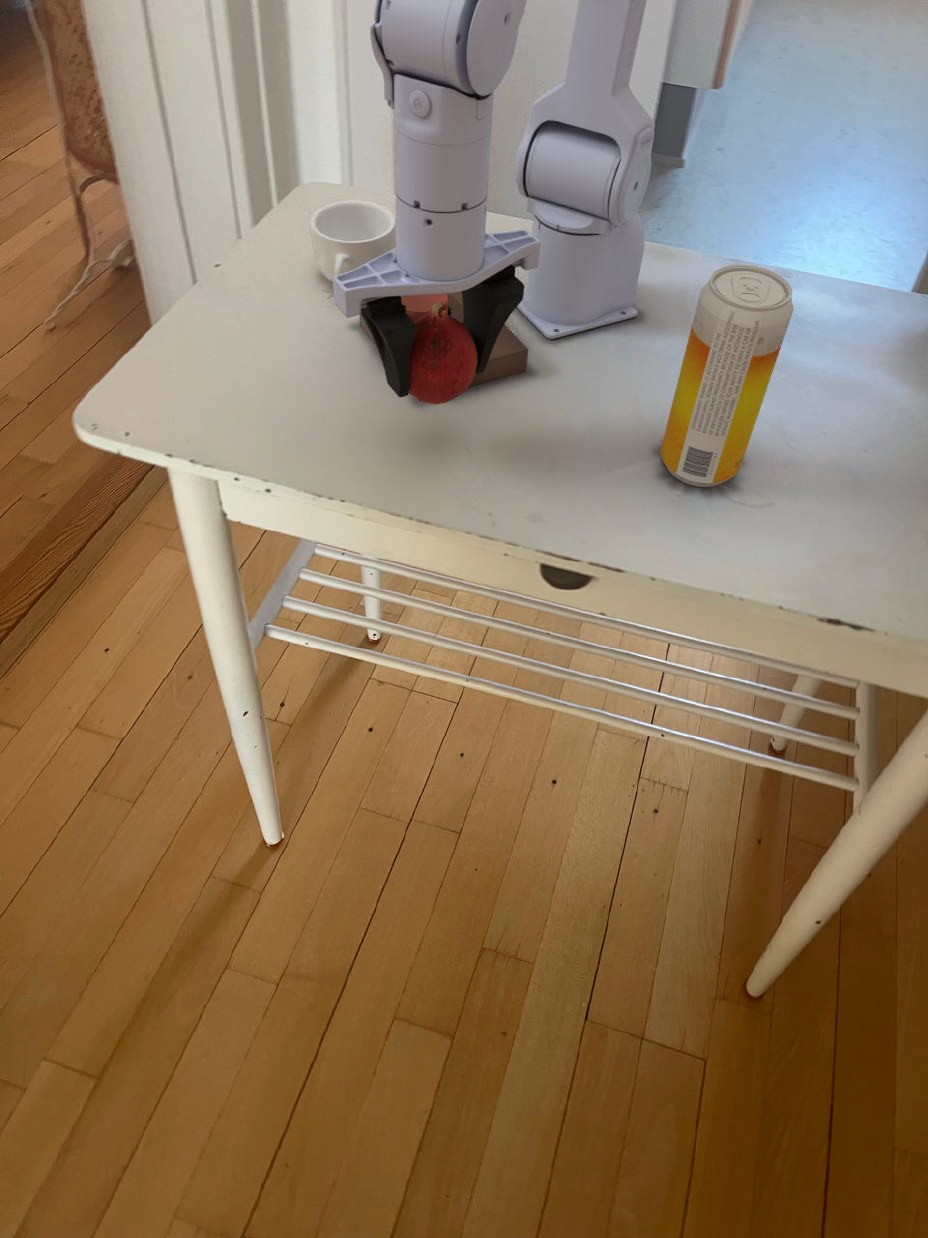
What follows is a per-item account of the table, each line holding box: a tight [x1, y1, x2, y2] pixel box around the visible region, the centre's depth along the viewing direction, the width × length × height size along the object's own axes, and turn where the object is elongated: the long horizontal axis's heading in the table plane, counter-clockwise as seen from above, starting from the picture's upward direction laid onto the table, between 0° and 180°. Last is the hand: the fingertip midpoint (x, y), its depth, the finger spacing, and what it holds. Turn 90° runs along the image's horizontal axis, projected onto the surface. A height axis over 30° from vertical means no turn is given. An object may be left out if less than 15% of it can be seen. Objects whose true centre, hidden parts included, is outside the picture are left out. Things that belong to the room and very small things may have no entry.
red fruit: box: [409, 302, 477, 405], centre depth 68 cm, size 6×6×8 cm
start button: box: [401, 294, 448, 322], centre depth 78 cm, size 4×4×2 cm
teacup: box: [309, 199, 396, 283], centre depth 86 cm, size 10×8×5 cm
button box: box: [358, 291, 529, 402], centre depth 80 cm, size 11×12×4 cm
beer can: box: [660, 264, 794, 488], centre depth 67 cm, size 6×6×15 cm
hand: (437, 377), depth 69 cm, fingers closed on red fruit, 6 cm apart
